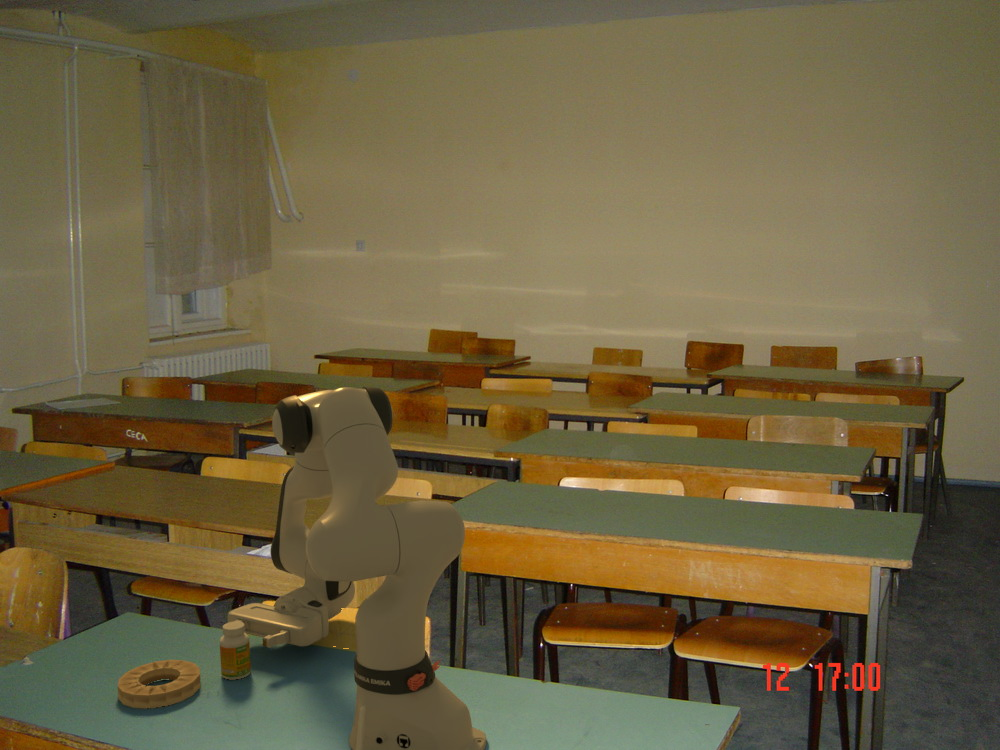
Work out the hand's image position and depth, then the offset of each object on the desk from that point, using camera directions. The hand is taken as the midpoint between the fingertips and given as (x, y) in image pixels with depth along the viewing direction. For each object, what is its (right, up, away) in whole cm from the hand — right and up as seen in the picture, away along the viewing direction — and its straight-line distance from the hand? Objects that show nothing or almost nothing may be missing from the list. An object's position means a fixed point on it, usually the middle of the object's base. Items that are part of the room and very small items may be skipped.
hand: (246, 638), depth 177 cm
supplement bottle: (-1, -6, -2) cm, 7 cm away
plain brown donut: (-14, -7, -8) cm, 17 cm away
